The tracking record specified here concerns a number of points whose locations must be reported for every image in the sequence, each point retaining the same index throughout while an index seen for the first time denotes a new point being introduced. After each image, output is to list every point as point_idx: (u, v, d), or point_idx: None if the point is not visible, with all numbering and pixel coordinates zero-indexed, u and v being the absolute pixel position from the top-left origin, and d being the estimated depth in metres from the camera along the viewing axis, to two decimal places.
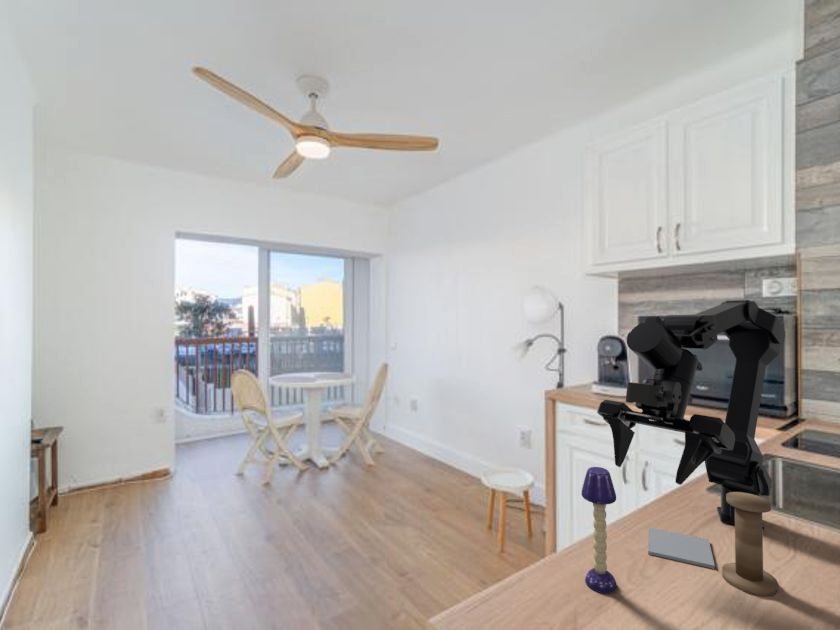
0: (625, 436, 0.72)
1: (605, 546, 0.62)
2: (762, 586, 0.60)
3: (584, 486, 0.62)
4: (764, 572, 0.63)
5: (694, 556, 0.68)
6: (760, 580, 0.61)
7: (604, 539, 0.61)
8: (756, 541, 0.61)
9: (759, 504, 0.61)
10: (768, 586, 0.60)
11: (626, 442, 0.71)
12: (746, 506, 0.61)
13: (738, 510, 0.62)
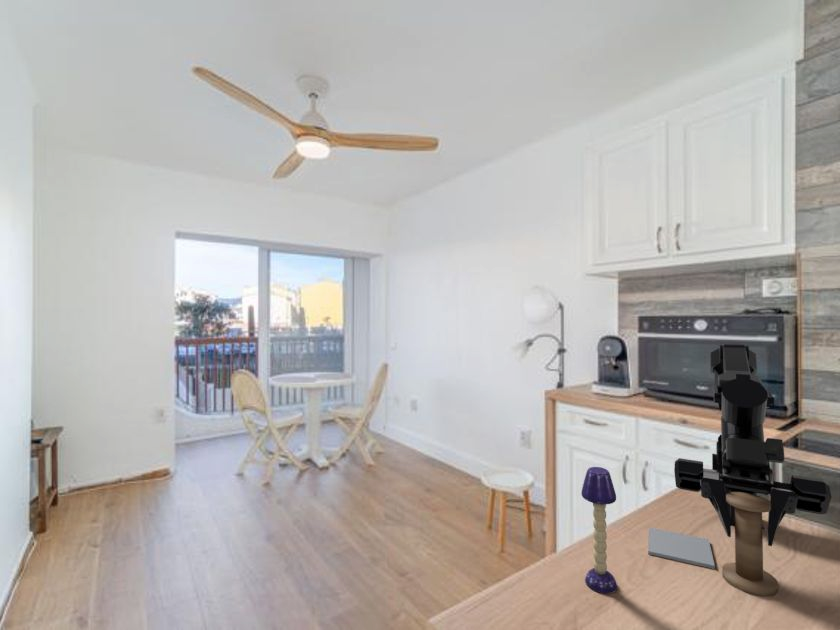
0: None
1: (605, 546, 0.62)
2: (762, 586, 0.60)
3: (584, 486, 0.62)
4: (764, 572, 0.63)
5: (694, 556, 0.68)
6: (760, 580, 0.61)
7: (604, 539, 0.61)
8: (756, 541, 0.61)
9: (759, 504, 0.61)
10: (768, 586, 0.60)
11: None
12: (746, 506, 0.61)
13: (738, 510, 0.62)
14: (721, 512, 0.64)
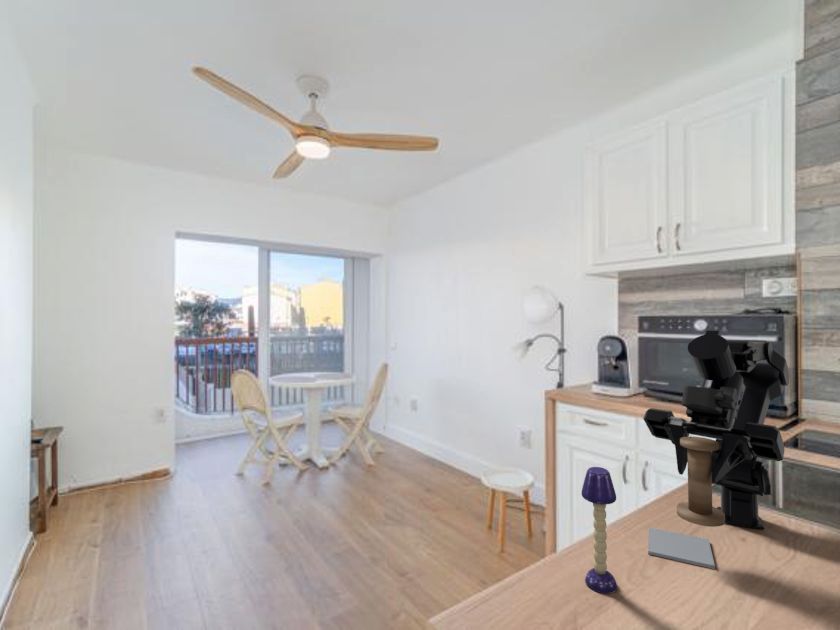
0: None
1: (605, 546, 0.62)
2: (704, 517, 0.66)
3: (584, 486, 0.62)
4: (718, 510, 0.68)
5: (694, 556, 0.68)
6: (706, 514, 0.67)
7: (604, 539, 0.61)
8: (702, 478, 0.67)
9: (704, 444, 0.67)
10: (711, 518, 0.66)
11: (686, 452, 0.72)
12: (690, 445, 0.67)
13: (688, 450, 0.69)
14: (676, 453, 0.71)
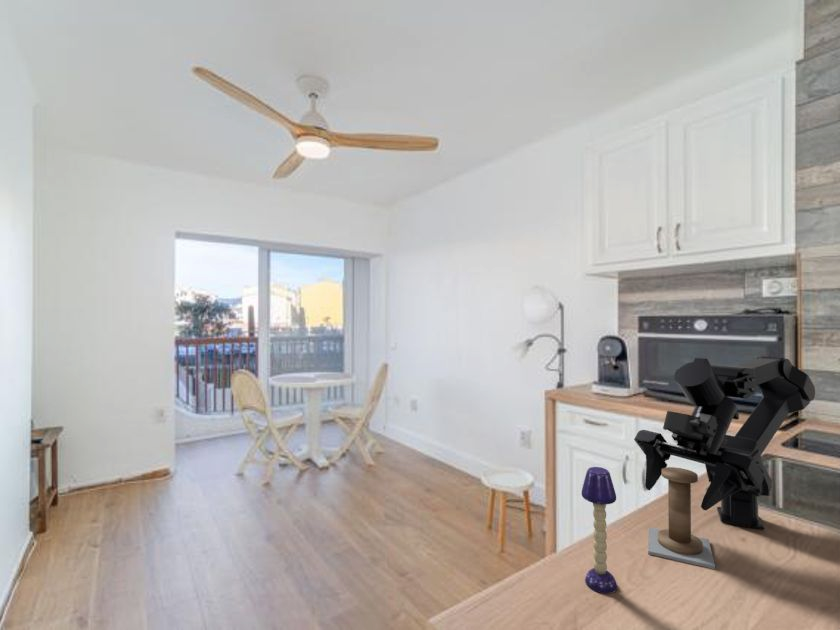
0: (658, 464, 0.77)
1: (605, 546, 0.62)
2: (679, 545, 0.70)
3: (584, 486, 0.62)
4: (698, 540, 0.71)
5: (694, 556, 0.68)
6: (683, 542, 0.70)
7: (604, 539, 0.61)
8: (679, 508, 0.71)
9: (681, 476, 0.70)
10: (685, 547, 0.69)
11: (658, 470, 0.77)
12: (668, 475, 0.71)
13: (668, 480, 0.73)
14: (646, 470, 0.77)
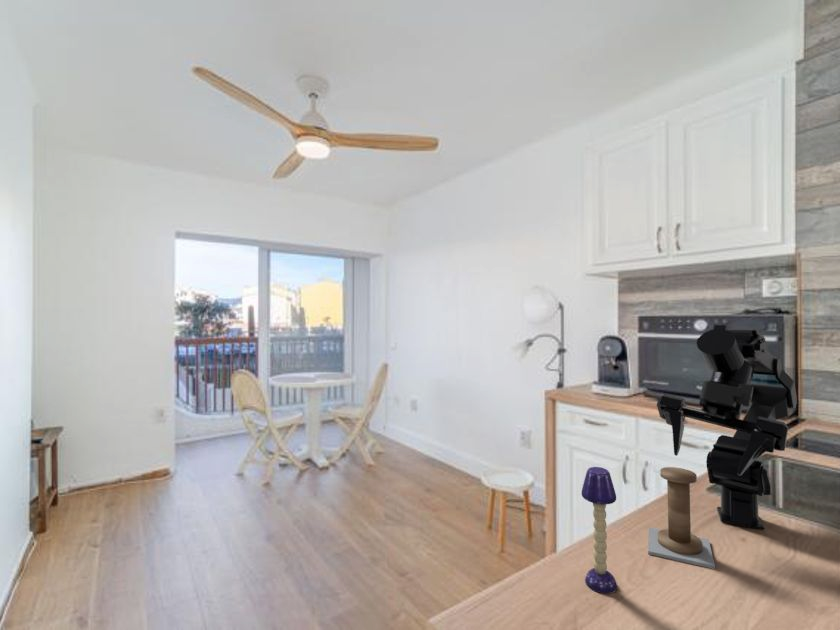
0: (681, 429, 0.79)
1: (605, 546, 0.62)
2: (679, 546, 0.70)
3: (584, 486, 0.62)
4: (698, 540, 0.71)
5: (694, 556, 0.68)
6: (683, 542, 0.70)
7: (604, 539, 0.61)
8: (679, 508, 0.71)
9: (680, 476, 0.70)
10: (685, 547, 0.69)
11: (681, 434, 0.79)
12: (667, 476, 0.71)
13: (667, 480, 0.72)
14: (673, 436, 0.77)
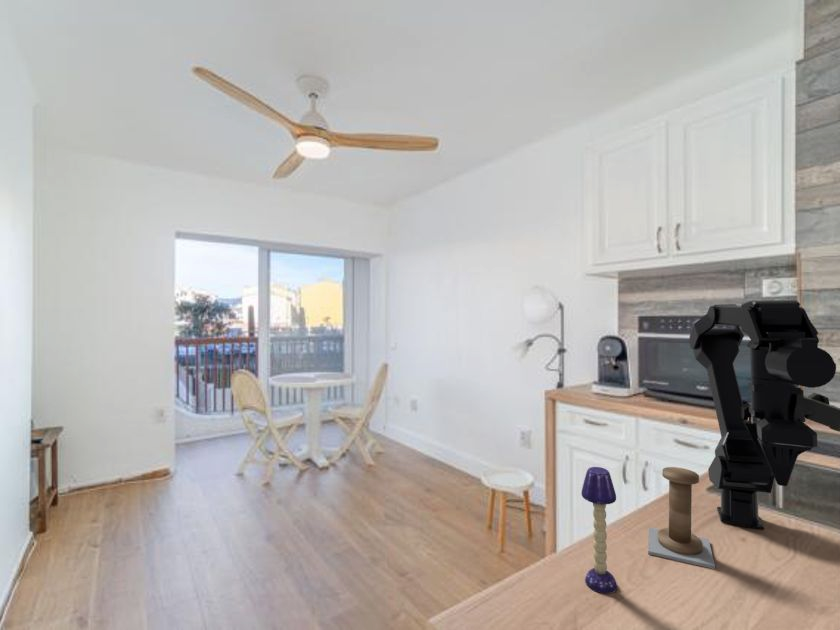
0: None
1: (605, 546, 0.62)
2: (680, 546, 0.70)
3: (584, 486, 0.62)
4: (698, 539, 0.71)
5: (694, 556, 0.68)
6: (683, 542, 0.70)
7: (604, 539, 0.61)
8: (680, 508, 0.70)
9: (683, 477, 0.70)
10: (686, 547, 0.69)
11: None
12: (670, 476, 0.71)
13: (669, 481, 0.72)
14: (792, 469, 0.64)
